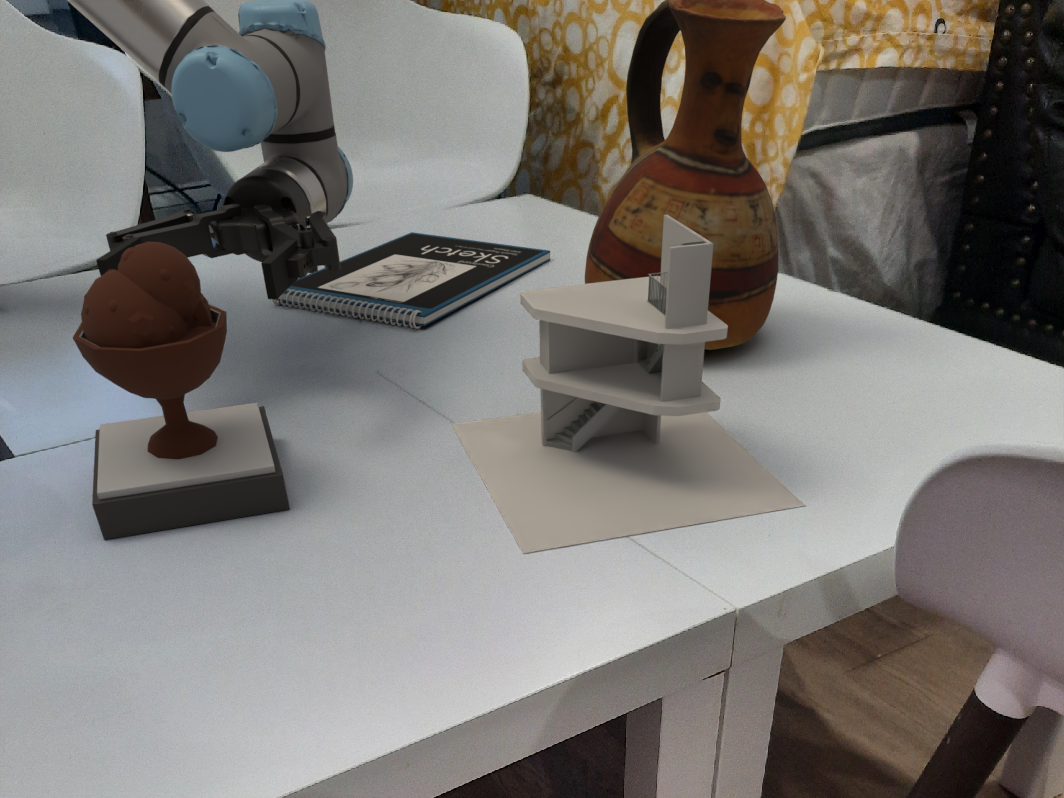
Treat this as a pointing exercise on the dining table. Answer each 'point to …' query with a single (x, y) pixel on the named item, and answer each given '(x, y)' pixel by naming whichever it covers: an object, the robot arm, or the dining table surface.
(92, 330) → the ice cream bowl
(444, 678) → the dining table surface
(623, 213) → the ceramic pitcher
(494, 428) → the architectural model
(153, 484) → the scale
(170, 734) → the dining table surface
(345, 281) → the sketchbook
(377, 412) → the dining table surface
